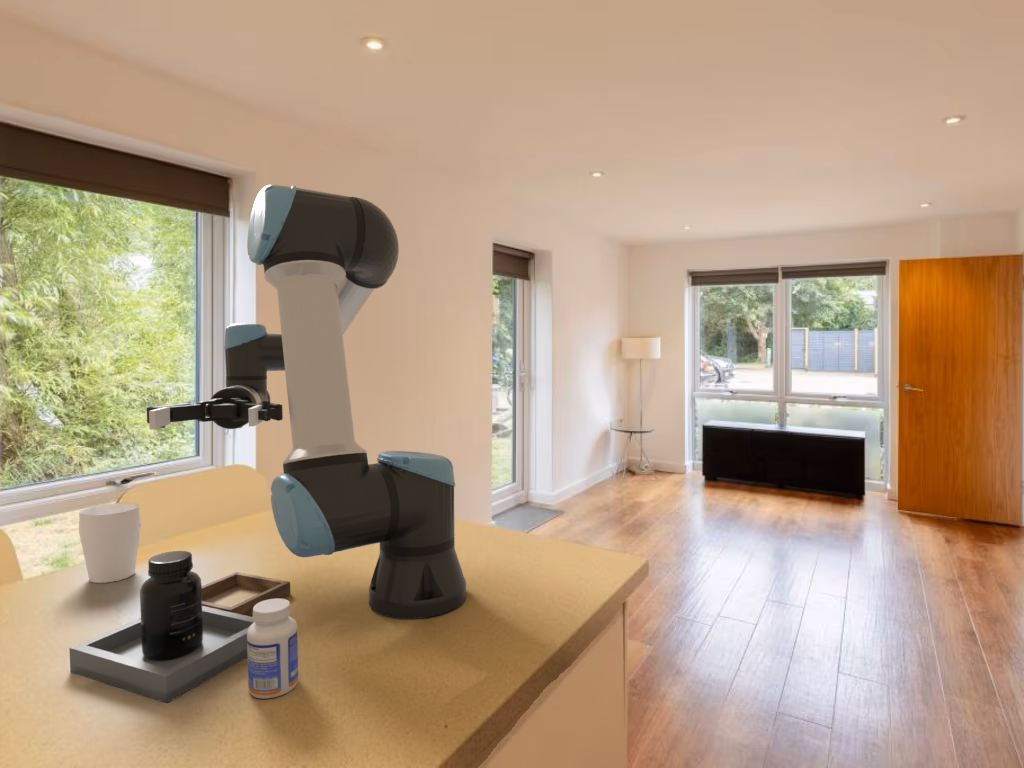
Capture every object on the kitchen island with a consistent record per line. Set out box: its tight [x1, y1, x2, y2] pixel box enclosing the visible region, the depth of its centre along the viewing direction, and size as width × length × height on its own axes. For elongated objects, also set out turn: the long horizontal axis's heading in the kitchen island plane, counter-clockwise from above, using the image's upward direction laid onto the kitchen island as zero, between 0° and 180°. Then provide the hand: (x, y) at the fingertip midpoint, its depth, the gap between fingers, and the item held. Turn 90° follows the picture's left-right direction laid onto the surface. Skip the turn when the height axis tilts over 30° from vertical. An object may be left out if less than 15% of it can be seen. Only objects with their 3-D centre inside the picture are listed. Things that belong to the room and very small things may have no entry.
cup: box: [78, 502, 142, 584], centre depth 104 cm, size 9×9×12 cm
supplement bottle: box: [139, 550, 203, 661], centre depth 76 cm, size 7×7×12 cm
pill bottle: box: [247, 598, 299, 700], centre depth 69 cm, size 5×5×10 cm
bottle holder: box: [202, 571, 291, 616], centre depth 93 cm, size 12×12×2 cm
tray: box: [68, 606, 254, 704], centre depth 76 cm, size 17×15×3 cm
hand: (202, 418), depth 89 cm, fingers open, 13 cm apart
